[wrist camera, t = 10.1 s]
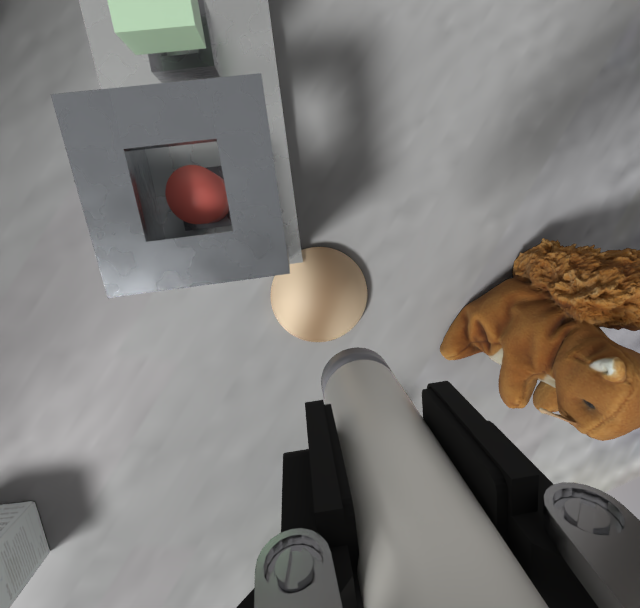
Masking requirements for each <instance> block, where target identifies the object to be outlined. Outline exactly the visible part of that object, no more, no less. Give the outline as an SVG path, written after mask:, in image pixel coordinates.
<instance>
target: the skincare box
mask: <svg viewBox="0 0 640 608" xmlns="http://www.w3.org/2000/svg"><path fill="white" fill-rule="evenodd" d="M49 552H50V550H49V547H48V543H47V540H46V537H45V533H44V530H43V527H42V523H41V520H40V517H39V513H38V510H37V507H36V504H35V502H32V501H28V502H21V503H12V504H2V505H0V608H10V606H11V605H12V604H13V602H14V601H15V600H16V598H17V597H18V595H19V594H20V593H21V591H22V590H23V588H24V587H25V586H26V584H27V583H28V582H29V580H30V579H31V577H32V576H33V575H34V573H35V572H36V570H37V569H38V568H39V566H40V565H41V564H42V562H43V561H44V560H45V558H46V557H47V555H48V554H49Z"/></svg>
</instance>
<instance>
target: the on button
mask: <svg viewBox="0 0 640 608" xmlns="http://www.w3.org/2000/svg"><path fill="white" fill-rule="evenodd" d="M107 2H108V6H109V10H110V15H111V19H112V23H113V28H114V32H115V34H116V35H117V36H118V37H119V38H120V39H121V40H122V41H123V42H124V43H125V44H126V45H127V46H128V47H129V49H130V50H131V51H132V52H133V53H134V54H135V55H143V54H153V53H163V52H174V51H184V50H195V49H205V48H206V44H205V39H204V33H203V27H202V21H201V16H200V10H199V4H198V0H107Z"/></svg>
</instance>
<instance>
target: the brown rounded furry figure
mask: <svg viewBox="0 0 640 608" xmlns="http://www.w3.org/2000/svg"><path fill="white" fill-rule="evenodd" d="M575 246H576V244H573V245H571V246H568V247H567V246H566V247H564V246H563V245H562V246H560V243H559V241H558V240H557V241H556V242H555V241H553V240H551V241H549V240H547V239H546V240H545V239H544V238H543V239H542V242H541V243H540V244H539V245H537V246H535V247H533V248H532V249H529V250H527V251H525V252H524V253H521V252H520V255H519V256H518V258H517V259H516V260H515V261H514V268H513V278H511V279H507V280H505V281H504V282H502V283H501V284H499V285H497V286H496V287H494V288H493V289H491V290H490V291H489V292H487V293H486V294H484V295H482V296H481V297H480V298H478V299H476V300H474V301H473V302H471V303H469V304H468V305H466V306H465V307H464V308H463V309H462V310H461V312H460V313H459V314H458V316H457V317H456V319H455V320H454V322H453V323H452V324H451V326H450V328H449V330H448V331H447V333H446V335H445V337H444V339H443V342H442V344H441V346H440V352H441V354H442V355H443V356H444V357H445V358H446V359H448V360H457V359H462V358H465V357H468V356H471V355H474V354H476V353H480V352H484V353H486V354H487V355H488V356H489V357H490V359H492V360H493V361H495V362H497V363H498V364H500V365H502V366H501V370H500V376H499V393H500V396H501V398H502V400H503V401H504V403H505V404H506V405H507V406H508V407H509V408H513V409H514V408H524V407H525V406H526V405H527V403H528V402H529V399H530V397H531V395H532V393H533V391H534V388H535V386H536V383H537V380H540V383H539V384H538V386H537V387H536V389H535V391H534V394H533V404H534V406H535V407H536V408H537V409H538V410H539V411H540V412H541V413H543V414H548V415H551V416H554V417H557V418H559V419H562V420H564V421H567V422H569V423H570V424H571V425H573V426H574V427H576V428H577V430H578V431H580V432H581V433H583V434H587V435H588V436H589V437H591V438H595V439H598V440H602V441H604V440H610V439H614V438H617V437H620V436H622V435H625V434H627V433H629V432H631V431H632V430H634V429H637V428H639V427H640V353H637V352H635V351H633V350H631V349H628V348H625V347H623V346H621V345H618V344H617V343H615V342H614V341H612V340H611V339H609V338H608V337H607V336H606V335H605V333H604V332H603V331H602V330H601V329H600V328H599V327H606V328H614V329H617V330H619V329H621V328H625V329H628V330H631V331H637V330H640V250H637V251H636V250H635V249H630V248H626V249H624V250H608V251H606V252H602V253H600V251H601V250H600V249H601V248H598V249H594V247H595V245H593V246H591V247H589V246H584V247H578V248H575ZM556 411H559V413H560V414H561V415H558V414H554V413H552V412H556Z"/></svg>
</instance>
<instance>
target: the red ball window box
mask: <svg viewBox="0 0 640 608" xmlns="http://www.w3.org/2000/svg"><path fill="white" fill-rule="evenodd" d="M79 3H80V7H81V11H82V16H83V20H84V24H85V28H86V32H87V36H88V40H89V44H90V48H91V52H92V56H93V60H94V64H95V68H96V72H97V76H98V80H99V84H100V88H101V89H99V90H89V91H79V92H69V93H59V94H51V98H52V101H53V105H54V108H55V112H56V115H57V119H58V123H59V126H60V130H61V133H62V137H63V140H64V144H65V148H66V151H67V155H68V158H69V162H70V165H71V169H72V172H73V176H74V180H75V183H76V187H77V190H78V194H79V197H80V201H81V205H82V208H83V212H84V215H85V219H86V222H87V226H88V230H89V233H90V237H91V240H92V244H93V247H94V251H95V255H96V258H97V262H98V265H99V269H100V272H101V276H102V280H103V283H104V287H105V290H106V294H107V297H108V298H112V297H119V296H127V295H134V294H142V293H149V292H157V291H164V290H172V289H179V288H187V287H194V286H201V285H209V284H216V283H224V282H231V281H239V280H246V279H254V278H261V277H269V276H276V275H284V274H290V264H294V263H302V262H303V259H302V252H301V244H300V237H299V229H298V222H297V214H296V207H295V199H294V192H293V184H292V177H291V169H290V162H289V154H288V147H287V139H286V132H285V124H284V117H283V109H282V102H281V94H280V87H279V79H278V72H277V64H276V57H275V49H274V42H273V34H272V27H271V19H270V12H269V4H268V0H198V4H199V10H200V16H201V21H202V27H203V33H204V39H205V44H206V48H205V49H195V50H184V51H174V52H163V53H153V54H143V55H135V54H134V53H133V52H132V51H131V50H130V49H129V47H128V46H127V45H126V44H125V43H124V42H123V41H122V40H121V39H120V38H119V37H118V36H117V35H116V34H115V32H114V28H113V23H112V19H111V15H110V10H109V6H108V2H107V0H79ZM186 165H198V166H202V167H204V168H206V169H208V170H210V171H212V172H213V173H215V174H216V175H218V176H220V177H221V178H222V179H223V180H224V183H225V189H226V195H227V200H228V206H229V212H228V213H227V215H226V216H225V217H224V218H223V219H221V220H220V221H218V222H215V223H208V224H191V223H187V222H185V221H183V220H181V219H180V218H178V217H177V216H176V215H175V214H174V213H173V212H172V210H171V209H170V207H169V205H168V203H167V200H166V195H165V190H166V184H167V181H168V179H169V177H170V176H171V174H172V173H173V172H174V171H175V170H177V169H178V168H180V167H183V166H186Z"/></svg>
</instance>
